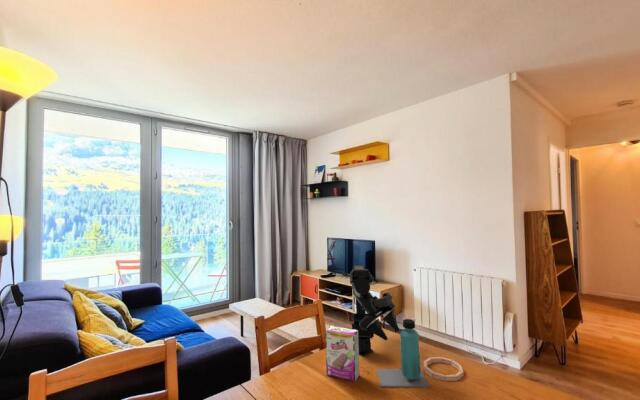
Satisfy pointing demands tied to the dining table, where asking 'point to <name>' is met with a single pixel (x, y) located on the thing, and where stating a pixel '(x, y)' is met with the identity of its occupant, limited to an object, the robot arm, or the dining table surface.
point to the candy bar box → (342, 353)
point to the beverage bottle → (410, 350)
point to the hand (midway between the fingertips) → (392, 335)
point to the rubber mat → (399, 379)
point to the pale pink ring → (441, 376)
